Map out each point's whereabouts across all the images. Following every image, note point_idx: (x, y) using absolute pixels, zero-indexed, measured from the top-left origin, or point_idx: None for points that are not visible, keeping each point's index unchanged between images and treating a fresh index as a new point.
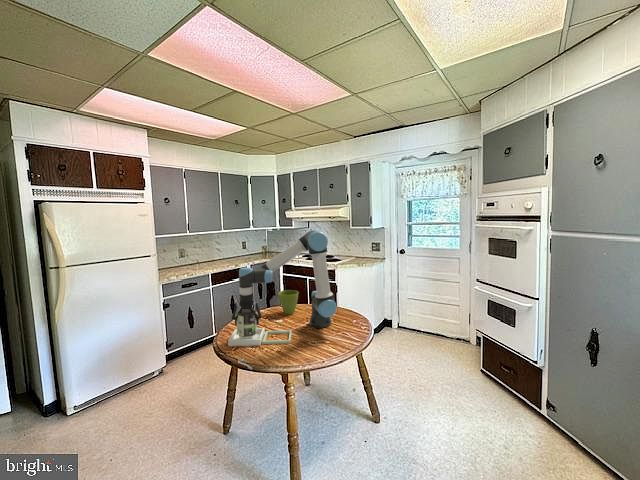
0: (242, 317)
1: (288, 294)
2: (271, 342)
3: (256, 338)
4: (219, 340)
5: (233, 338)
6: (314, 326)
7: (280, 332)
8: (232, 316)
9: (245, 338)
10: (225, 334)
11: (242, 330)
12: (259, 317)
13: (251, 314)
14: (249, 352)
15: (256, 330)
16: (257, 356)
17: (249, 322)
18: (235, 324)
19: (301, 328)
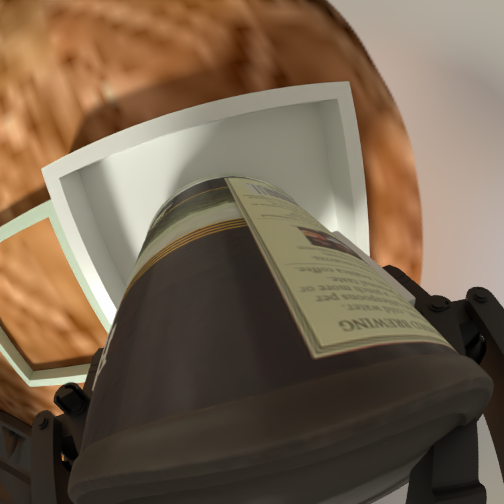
0: (338, 316)
1: None
2: (11, 220)
3: None
4: (416, 187)
5: (338, 202)
6: (9, 417)
7: (66, 371)
8: (501, 313)
9: None
10: None
11: (255, 193)
12: (49, 426)
13: (71, 471)
14: (99, 29)
15: (123, 294)
16: (34, 14)
17: (134, 291)
18: (395, 270)
19: (37, 412)
